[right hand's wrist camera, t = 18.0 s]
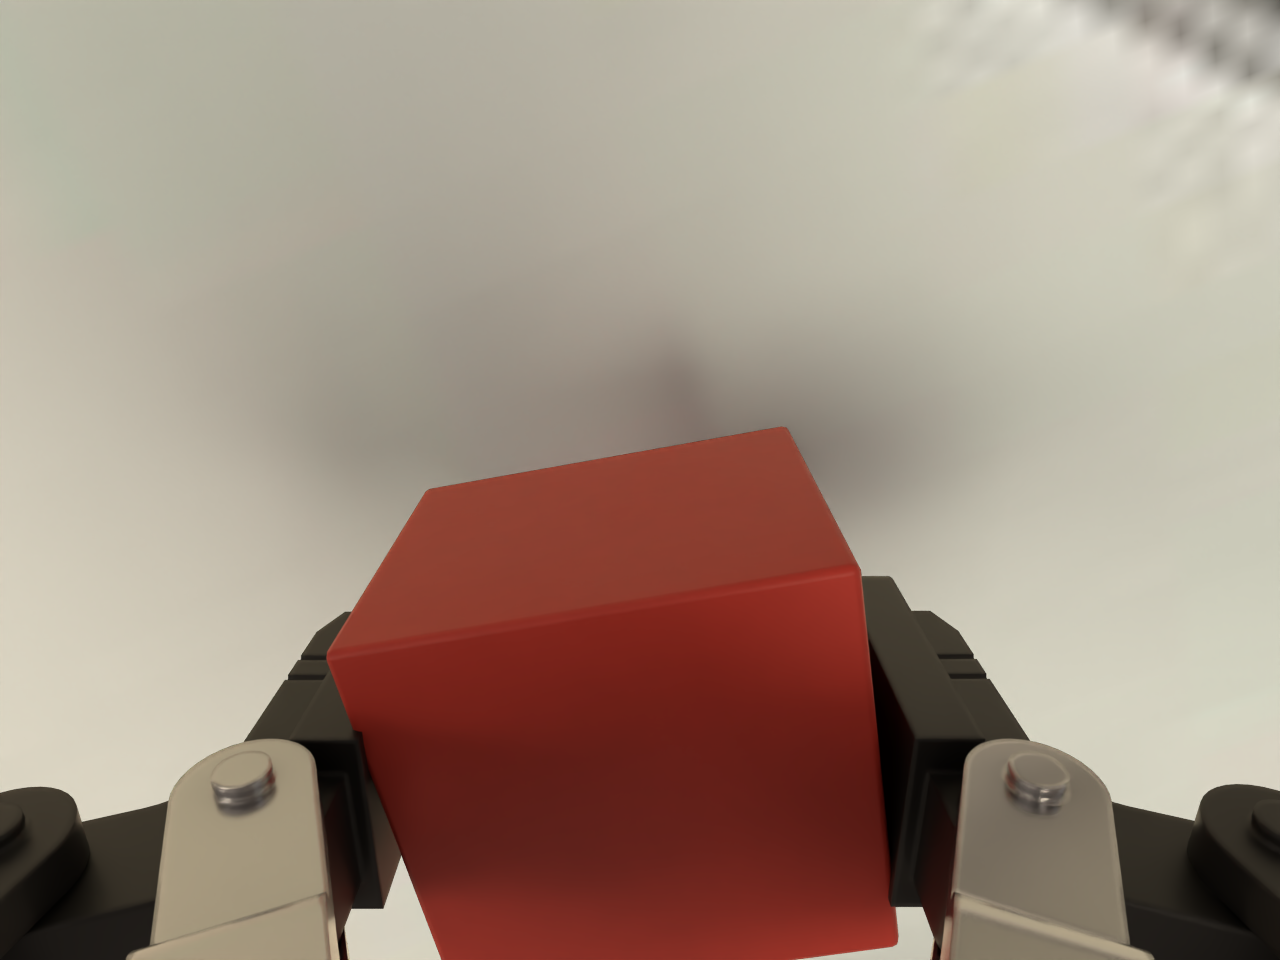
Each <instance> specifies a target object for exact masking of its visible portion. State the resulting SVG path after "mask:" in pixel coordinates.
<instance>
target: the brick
mask: <svg viewBox="0 0 1280 960" xmlns="http://www.w3.org/2000/svg"><path fill="white" fill-rule="evenodd" d="M327 663H328V665H329V668H330V671H331V673H332V676H333V678H334V681H335V684H336V686H337V689H338V691H339V694H340V697H341V699H342V702H343V704H344V707H345V710H346V712H347V715H348V717H349V720H350V723H351V725H352V728H353V730H356V731H359V732H362V735H363V742H364V747H365V753H366V758H367V763H368V768H369V772H370V775H371V777H372V780H373V783H374V785H375V788H376V790H377V793H378V796H379V798H380V801H381V803H382V806H383V809H384V811H385V814H386V816H387V819H388V822H389V824H390V827H391V829H392V832H393V835H394V837H395V840H396V842H397V845H398V848H399V850H400V853H401V855H402V858H403V861H404V863H405V866H406V868H407V871H408V874H409V876H410V879H411V881H412V884H413V887H414V889H415V892H416V894H417V897H418V900H419V902H420V905H421V907H422V910H423V913H424V915H425V918H426V921H427V923H428V926H429V928H430V931H431V934H432V936H433V939H434V941H435V944H436V947H437V949H438V952H439V954H440V957H441V960H797V959H804V958H812V957H819V956H827V955H834V954H842V953H849V952H857V951H864V950H872V949H879V948H887V947H893V946H895V945H897V942H898V927H897V917H896V907H891V906H890V903H889V900H888V893H889V884H890V875H891V861H890V849H889V839H888V830H887V820H886V810H885V800H884V791H883V781H882V771H881V761H880V752H879V742H878V732H877V723H876V713H875V703H874V693H873V684H872V674H871V664H870V654H869V645H868V635H867V625H866V615H865V606H864V596H863V586H862V577H861V569H860V567H859V566H858V564H857V562H856V560H855V558H854V556H853V554H852V552H851V550H850V548H849V546H848V544H847V542H846V540H845V538H844V537H843V535H842V533H841V531H840V529H839V527H838V525H837V523H836V521H835V519H834V517H833V515H832V513H831V511H830V509H829V508H828V506H827V504H826V502H825V500H824V498H823V496H822V494H821V492H820V490H819V488H818V486H817V484H816V482H815V480H814V479H813V477H812V475H811V473H810V471H809V469H808V467H807V465H806V463H805V461H804V459H803V457H802V455H801V453H800V451H799V449H798V448H797V446H796V444H795V442H794V440H793V438H792V436H791V434H790V432H789V430H788V429H787V428H786V427H776V428H771V429H765V430H760V431H754V432H748V433H743V434H737V435H731V436H726V437H720V438H714V439H709V440H703V441H697V442H692V443H686V444H681V445H675V446H669V447H664V448H658V449H652V450H647V451H641V452H635V453H630V454H624V455H619V456H613V457H607V458H602V459H596V460H590V461H585V462H579V463H573V464H568V465H562V466H556V467H551V468H545V469H540V470H534V471H528V472H523V473H517V474H511V475H506V476H500V477H494V478H489V479H483V480H477V481H472V482H466V483H461V484H455V485H449V486H444V487H438V488H432V489H429V490H427V491H426V492H425V494H424V495H423V497H422V499H421V500H420V502H419V503H418V505H417V507H416V508H415V510H414V512H413V513H412V515H411V516H410V518H409V520H408V521H407V523H406V525H405V526H404V528H403V529H402V531H401V533H400V534H399V536H398V538H397V539H396V541H395V542H394V544H393V546H392V547H391V549H390V550H389V552H388V554H387V555H386V557H385V559H384V560H383V562H382V563H381V565H380V567H379V568H378V570H377V572H376V573H375V575H374V576H373V578H372V580H371V581H370V583H369V585H368V586H367V588H366V589H365V591H364V593H363V594H362V596H361V598H360V599H359V601H358V602H357V604H356V606H355V607H354V609H353V611H352V612H351V614H350V615H349V617H348V619H347V620H346V622H345V624H344V625H343V627H342V628H341V630H340V632H339V633H338V635H337V637H336V638H335V640H334V641H333V643H332V645H331V646H330V648H329V650H328V651H327Z"/></svg>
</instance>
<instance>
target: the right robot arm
mask: <svg viewBox="0 0 1280 960" xmlns="http://www.w3.org/2000/svg"><path fill="white" fill-rule="evenodd" d="M861 577H862V586H863V596H864V606H865V615H866V625H867V635H868V645H869V654H870V664H871V674H872V684H873V693H874V703H875V713H876V723H877V732H878V742H879V752H880V761H881V771H882V781H883V791H884V800H885V810H886V820H887V830H888V839H889V849H890V861H891V875H890V884H889V893H888V900H889V903H890V906H891V907H923V909H924V912H925V915H926V917H927V920H928V923H929V925H930V928H931V931H932V933H933V936H934V939H933V945H932V950H931V957H930V960H1280V791H1277V790H1273V789H1269V788H1265V787H1260V786H1254V785H1243V784H1233V785H1224V786H1220V787H1216V788H1214V789H1212V790H1210V791H1208V792H1207V793H1206V794H1205V795H1204V796H1203V798H1202V800H1201V802H1200V806H1199V809H1198V812H1197V815H1196V818H1195V821H1192V820H1188V819H1183V818H1179V817H1174V816H1170V815H1165V814H1161V813H1156V812H1152V811H1147V810H1143V809H1138V808H1134V807H1129V806H1125V805H1122V804H1118V803H1114V802H1112V801H1111V797H1110V794H1109V792H1108V790H1107V788H1106V786H1105V784H1104V783H1103V782H1102V781H1101V779H1100V778H1099V777H1098V776H1097V775H1096V774H1095V773H1094V772H1093V771H1092V770H1091V769H1090V768H1088V767H1087V766H1086V765H1084V764H1083V763H1082V762H1080V761H1079V760H1077V759H1075V758H1074V757H1072V756H1071V755H1069V754H1066V753H1064V752H1062V751H1060V750H1058V749H1055V748H1053V747H1050V746H1048V745H1044V744H1041V743H1037V742H1033V741H1030V740H1029V738H1028V737H1027V735H1026V734H1025V732H1024V731H1023V729H1022V728H1021V726H1020V725H1019V723H1018V722H1017V720H1016V719H1015V717H1014V715H1013V714H1012V712H1011V711H1010V709H1009V708H1008V706H1007V705H1006V703H1005V702H1004V700H1003V699H1002V697H1001V696H1000V694H999V693H998V691H997V689H996V688H995V686H994V685H993V683H992V682H991V680H990V679H987V678H986V673H985V671H984V670H983V668H982V667H981V665H980V663H979V662H978V660H977V659H974V654H973V653H972V651H971V650H970V648H969V647H968V645H967V644H966V642H965V641H964V639H963V637H962V636H961V634H960V633H959V631H958V630H956V629H955V628H953V627H952V626H951V625H949V624H948V623H946V622H945V621H944V620H942V619H941V618H939V617H938V616H936V615H935V614H934V613H932V612H931V611H911V609H910V608H909V606H908V604H907V603H906V601H905V599H904V597H903V596H902V594H901V592H900V591H899V589H898V587H897V585H896V584H895V582H894V580H893V579H892V578H891V577H889V576H861ZM350 614H351V612H344V613H343V614H341V615H340V616H339V617H337V618H336V619H334V620H333V621H332V622H330V623H329V624H327V625H326V626H325V627H323V628H322V629H320V630H319V631H317V632H316V634H315V635H314V637H313V638H312V640H311V641H310V643H309V644H308V646H307V647H306V649H305V650H304V652H303V653H302V655H301V660H298V661H297V663H296V664H295V666H294V667H293V669H292V670H291V672H290V673H289V675H288V680H285V681H284V682H283V684H282V685H281V687H280V688H279V690H278V691H277V693H276V694H275V696H274V697H273V699H272V700H271V702H270V703H269V705H268V706H267V708H266V709H265V711H264V712H263V714H262V715H261V717H260V718H259V720H258V721H257V723H256V724H255V726H254V727H253V729H252V730H251V732H250V733H249V735H248V736H247V738H246V739H245V741H244V742H243V743H239V744H236V745H232V746H230V747H227V748H225V749H222V750H220V751H218V752H216V753H214V754H211V755H209V756H208V757H206V758H205V759H203V760H201V761H200V762H198V763H197V764H196V765H194V766H193V767H192V768H190V769H189V770H188V771H187V772H186V773H185V774H184V775H183V776H182V777H181V778H180V779H179V781H178V782H177V783H176V784H175V786H174V788H173V790H172V792H171V794H170V797H169V801H167V802H164V803H161V804H158V805H154V806H150V807H147V808H143V809H138V810H134V811H129V812H125V813H120V814H116V815H111V816H107V817H102V818H98V819H93V820H89V821H84V822H82V821H81V818H80V815H79V812H78V809H77V805H76V803H75V801H74V799H73V798H72V797H71V796H70V795H69V794H68V793H66V792H64V791H62V790H59V789H55V788H49V787H27V788H21V789H14V790H10V791H6V792H2V793H0V960H350V957H349V950H348V945H347V939H346V933H345V928H344V926H345V924H346V921H347V918H348V916H349V913H350V911H351V909H383V908H384V905H385V902H386V899H387V896H388V893H389V890H390V887H391V884H392V881H393V878H394V875H395V872H396V869H397V866H398V863H399V861H400V858H401V853H400V850H399V848H398V845H397V842H396V840H395V837H394V835H393V832H392V829H391V827H390V824H389V822H388V819H387V816H386V814H385V811H384V809H383V806H382V803H381V801H380V798H379V796H378V793H377V790H376V788H375V785H374V783H373V780H372V777H371V775H370V772H369V768H368V763H367V758H366V753H365V747H364V742H363V735H362V732H359V731H356V730H353V728H352V725H351V723H350V720H349V717H348V715H347V712H346V710H345V707H344V704H343V702H342V699H341V697H340V694H339V691H338V689H337V686H336V684H335V681H334V678H333V676H332V673H331V671H330V668H329V665H328V663H327V651H328V650H329V648H330V646H331V645H332V643H333V641H334V640H335V638H336V637H337V635H338V633H339V632H340V630H341V628H342V627H343V625H344V624H345V622H346V620H347V619H348V617H349V615H350Z"/></svg>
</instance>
